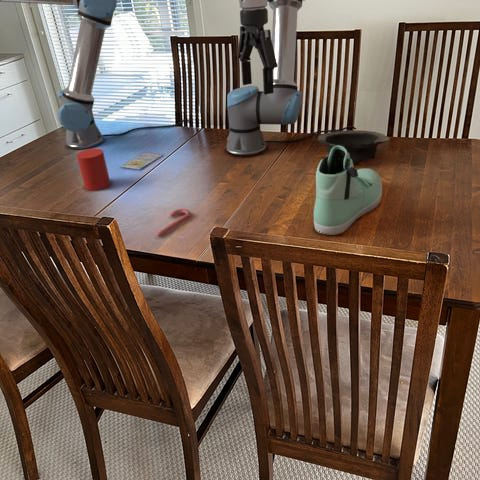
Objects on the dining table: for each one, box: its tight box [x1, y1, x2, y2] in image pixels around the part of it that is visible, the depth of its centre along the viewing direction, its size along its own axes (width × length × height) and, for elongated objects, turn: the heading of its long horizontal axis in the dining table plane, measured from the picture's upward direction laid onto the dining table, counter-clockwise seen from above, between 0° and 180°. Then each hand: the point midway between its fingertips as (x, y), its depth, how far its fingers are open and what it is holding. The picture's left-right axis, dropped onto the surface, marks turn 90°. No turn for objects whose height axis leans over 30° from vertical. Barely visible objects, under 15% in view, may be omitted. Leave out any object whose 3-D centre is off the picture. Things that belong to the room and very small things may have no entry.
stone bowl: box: [316, 129, 390, 165], centre depth 170 cm, size 25×25×9 cm
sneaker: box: [313, 146, 383, 236], centre depth 133 cm, size 14×35×20 cm, turn 152°
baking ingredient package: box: [119, 152, 162, 170], centre depth 182 cm, size 9×1×15 cm
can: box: [76, 148, 111, 192], centre depth 163 cm, size 9×9×12 cm
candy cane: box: [156, 208, 192, 238], centre depth 138 cm, size 6×15×2 cm, turn 145°
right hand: (257, 88), depth 140 cm, fingers open, 13 cm apart
